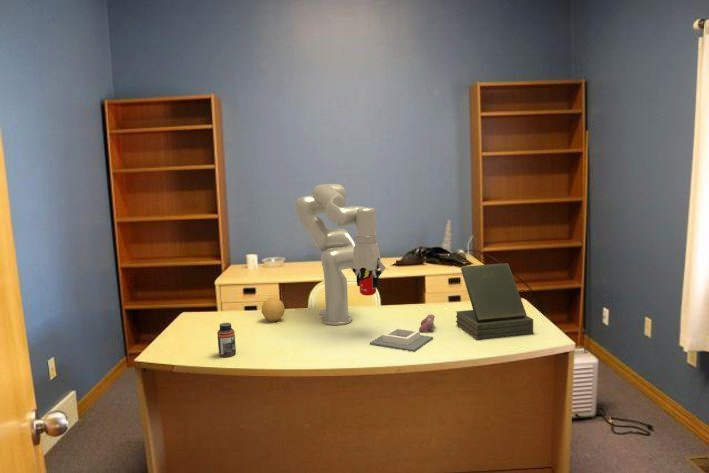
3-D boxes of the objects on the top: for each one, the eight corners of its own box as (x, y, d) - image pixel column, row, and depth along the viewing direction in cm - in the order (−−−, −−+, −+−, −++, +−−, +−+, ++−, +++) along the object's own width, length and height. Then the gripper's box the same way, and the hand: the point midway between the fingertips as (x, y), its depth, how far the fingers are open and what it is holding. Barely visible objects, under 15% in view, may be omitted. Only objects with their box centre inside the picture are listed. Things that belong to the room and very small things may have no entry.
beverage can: (366, 291, 206) (365, 261, 204) (379, 293, 202) (378, 262, 200) (356, 294, 201) (355, 264, 199) (369, 296, 197) (368, 265, 195)
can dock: (369, 344, 192) (369, 335, 191) (390, 332, 205) (390, 324, 204) (414, 352, 182) (414, 342, 181) (433, 338, 195) (432, 330, 195)
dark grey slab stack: (476, 341, 192) (475, 274, 189) (456, 326, 211) (455, 265, 208) (533, 335, 196) (533, 269, 193) (508, 321, 215) (508, 261, 212)
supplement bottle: (220, 352, 189) (218, 322, 188) (237, 351, 189) (235, 321, 188) (217, 358, 183) (215, 326, 182) (234, 357, 184) (232, 325, 182)
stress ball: (285, 324, 225) (290, 305, 232) (274, 311, 219) (280, 292, 226) (266, 326, 229) (271, 307, 236) (254, 313, 223) (261, 294, 229)
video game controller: (428, 336, 203) (436, 321, 202) (417, 331, 204) (425, 315, 202) (430, 329, 213) (437, 314, 211) (419, 324, 213) (427, 309, 212)
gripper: (342, 240, 200) (343, 286, 202) (381, 242, 191) (382, 290, 193) (352, 237, 206) (354, 282, 209) (391, 239, 197) (392, 286, 199)
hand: (367, 285), depth 201 cm, fingers closed on beverage can, 6 cm apart
